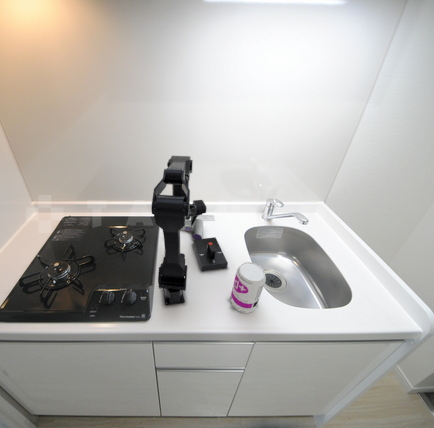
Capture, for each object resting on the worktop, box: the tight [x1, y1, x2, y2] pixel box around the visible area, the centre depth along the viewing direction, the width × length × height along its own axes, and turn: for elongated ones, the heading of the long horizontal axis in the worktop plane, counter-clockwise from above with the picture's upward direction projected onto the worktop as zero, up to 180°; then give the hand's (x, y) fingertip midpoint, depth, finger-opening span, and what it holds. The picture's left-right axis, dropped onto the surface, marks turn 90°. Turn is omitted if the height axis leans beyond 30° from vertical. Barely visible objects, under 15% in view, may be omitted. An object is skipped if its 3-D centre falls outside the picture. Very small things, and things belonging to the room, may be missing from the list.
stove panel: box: [192, 237, 229, 272], centre depth 85 cm, size 15×10×3 cm, turn 9°
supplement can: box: [229, 261, 267, 314], centre depth 64 cm, size 8×8×15 cm
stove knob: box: [207, 243, 216, 258], centre depth 81 cm, size 5×2×4 cm, turn 10°
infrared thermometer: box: [180, 218, 204, 240], centre depth 97 cm, size 5×12×15 cm
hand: (180, 226), depth 82 cm, fingers open, 9 cm apart
